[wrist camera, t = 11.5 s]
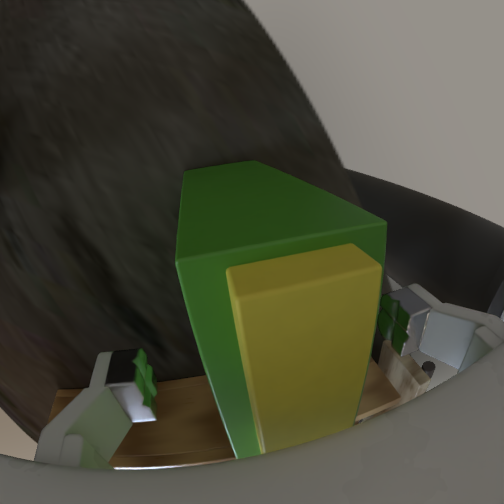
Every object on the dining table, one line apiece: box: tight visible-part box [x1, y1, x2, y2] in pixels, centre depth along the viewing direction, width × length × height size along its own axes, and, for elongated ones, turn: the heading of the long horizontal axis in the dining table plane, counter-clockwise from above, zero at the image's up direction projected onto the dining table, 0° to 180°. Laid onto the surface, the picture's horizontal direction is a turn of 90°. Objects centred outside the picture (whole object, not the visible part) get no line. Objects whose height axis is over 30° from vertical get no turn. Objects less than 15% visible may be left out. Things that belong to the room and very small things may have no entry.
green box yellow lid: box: [175, 160, 387, 459], centre depth 12 cm, size 4×9×13 cm, turn 7°
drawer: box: [354, 340, 435, 426], centre depth 22 cm, size 20×14×6 cm
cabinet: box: [47, 375, 236, 469], centre depth 20 cm, size 17×15×8 cm
